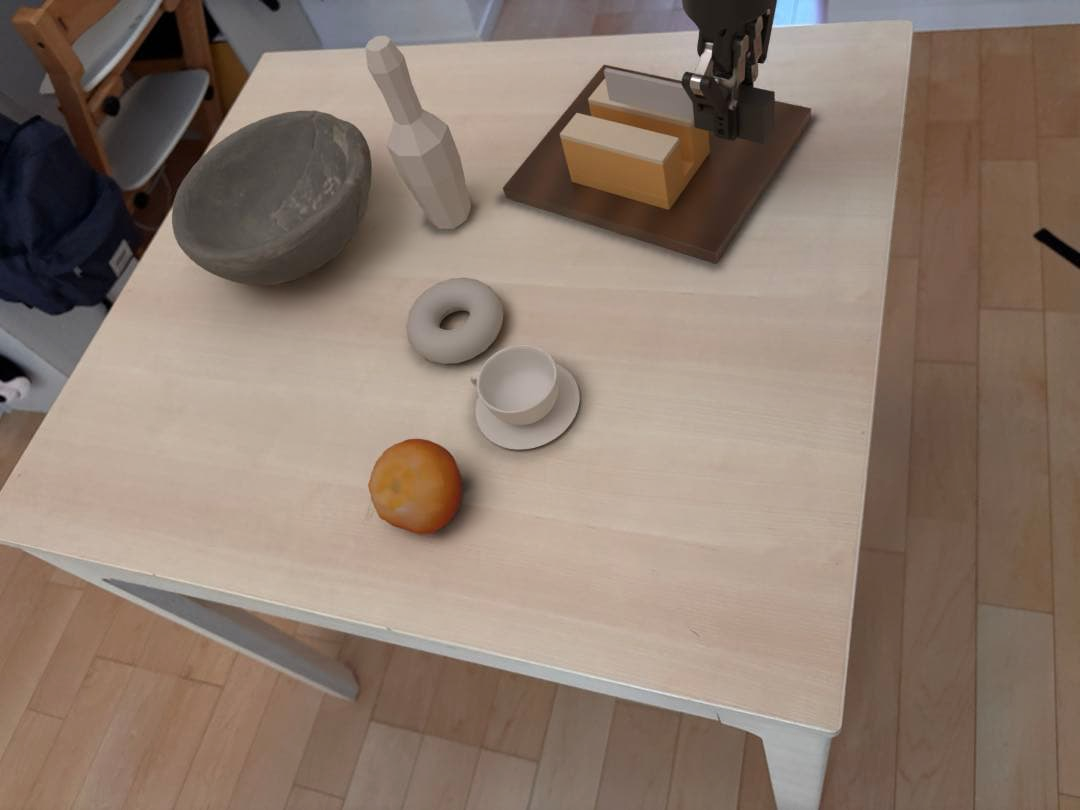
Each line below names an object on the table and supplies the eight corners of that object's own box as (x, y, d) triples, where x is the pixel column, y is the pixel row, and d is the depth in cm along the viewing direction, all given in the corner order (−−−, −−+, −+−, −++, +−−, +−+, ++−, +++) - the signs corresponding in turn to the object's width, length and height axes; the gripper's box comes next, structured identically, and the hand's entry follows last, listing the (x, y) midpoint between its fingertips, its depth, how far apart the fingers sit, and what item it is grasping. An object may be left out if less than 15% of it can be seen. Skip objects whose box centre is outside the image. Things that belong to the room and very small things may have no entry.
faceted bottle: (413, 226, 98) (332, 58, 80) (445, 188, 100) (373, 17, 82) (456, 241, 95) (382, 71, 77) (488, 202, 97) (423, 27, 79)
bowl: (263, 167, 110) (222, 103, 102) (421, 172, 103) (391, 103, 94) (178, 309, 99) (124, 249, 91) (348, 326, 92) (306, 263, 84)
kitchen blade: (774, 127, 79) (775, 91, 76) (763, 144, 79) (763, 108, 75) (616, 91, 87) (610, 57, 84) (604, 106, 86) (597, 72, 83)
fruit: (495, 457, 77) (446, 457, 70) (468, 540, 78) (417, 548, 71) (424, 427, 80) (371, 424, 73) (399, 506, 81) (344, 511, 74)
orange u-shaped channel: (710, 152, 92) (706, 100, 86) (669, 210, 88) (662, 160, 83) (613, 128, 97) (604, 78, 92) (571, 181, 94) (559, 133, 88)
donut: (525, 309, 88) (448, 280, 92) (518, 287, 85) (438, 259, 89) (472, 384, 84) (393, 351, 88) (462, 364, 81) (381, 331, 85)
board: (810, 119, 93) (811, 108, 92) (716, 263, 85) (715, 253, 84) (605, 74, 105) (603, 64, 104) (505, 197, 97) (502, 187, 96)
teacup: (595, 372, 81) (586, 342, 78) (558, 462, 77) (547, 435, 73) (500, 354, 85) (487, 325, 81) (460, 439, 81) (444, 412, 77)
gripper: (730, 7, 62) (737, 186, 76) (812, -100, 67) (805, 86, 81) (639, -8, 66) (662, 166, 80) (724, -109, 71) (731, 71, 85)
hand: (734, 125), depth 80 cm, fingers closed on kitchen blade, 2 cm apart
